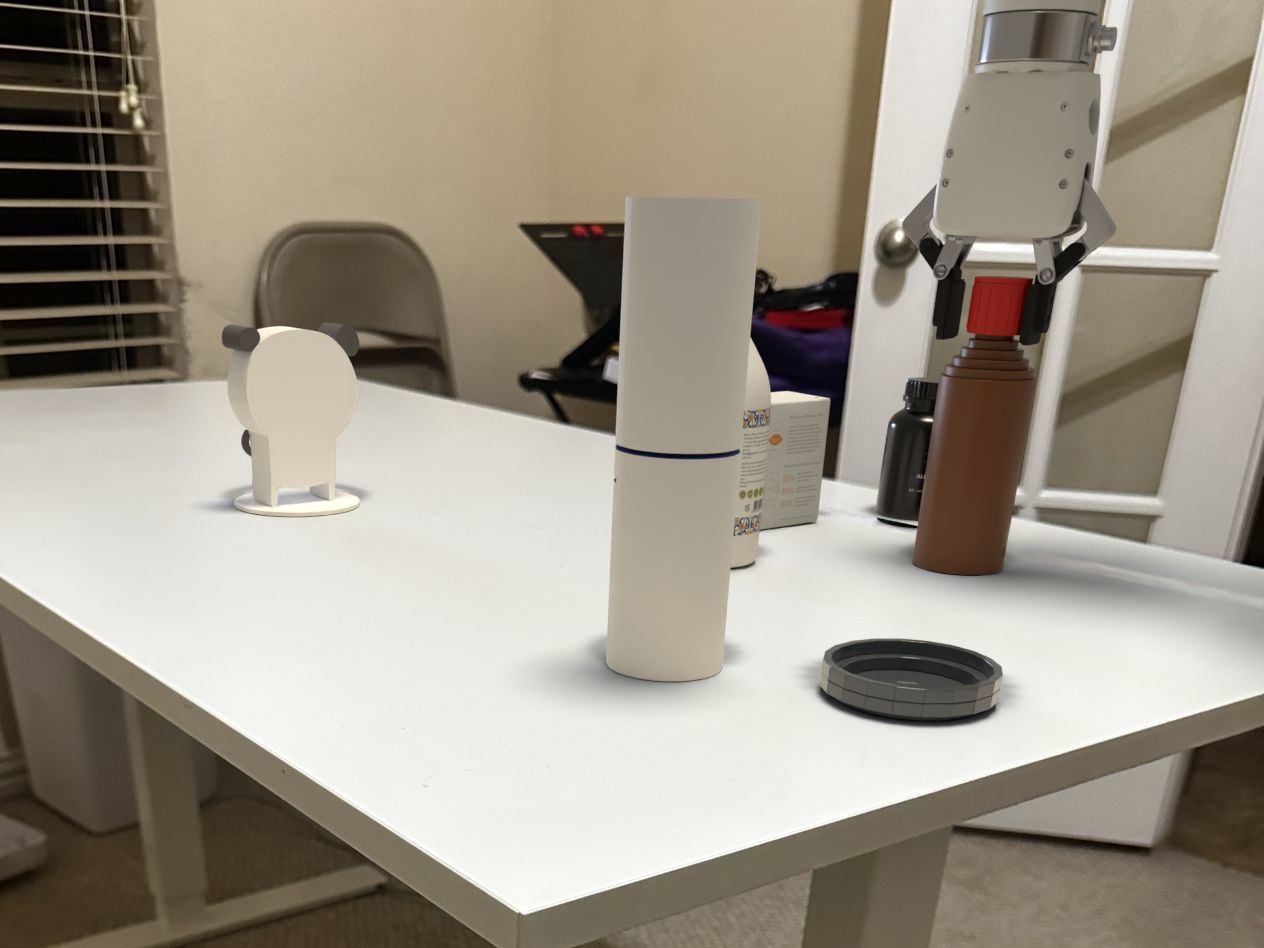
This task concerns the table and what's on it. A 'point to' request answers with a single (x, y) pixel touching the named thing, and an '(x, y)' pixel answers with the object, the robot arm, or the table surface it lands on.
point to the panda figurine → (293, 414)
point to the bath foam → (752, 461)
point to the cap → (997, 305)
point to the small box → (794, 459)
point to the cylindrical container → (679, 431)
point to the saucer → (911, 678)
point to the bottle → (975, 458)
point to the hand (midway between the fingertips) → (987, 338)
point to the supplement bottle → (907, 454)
